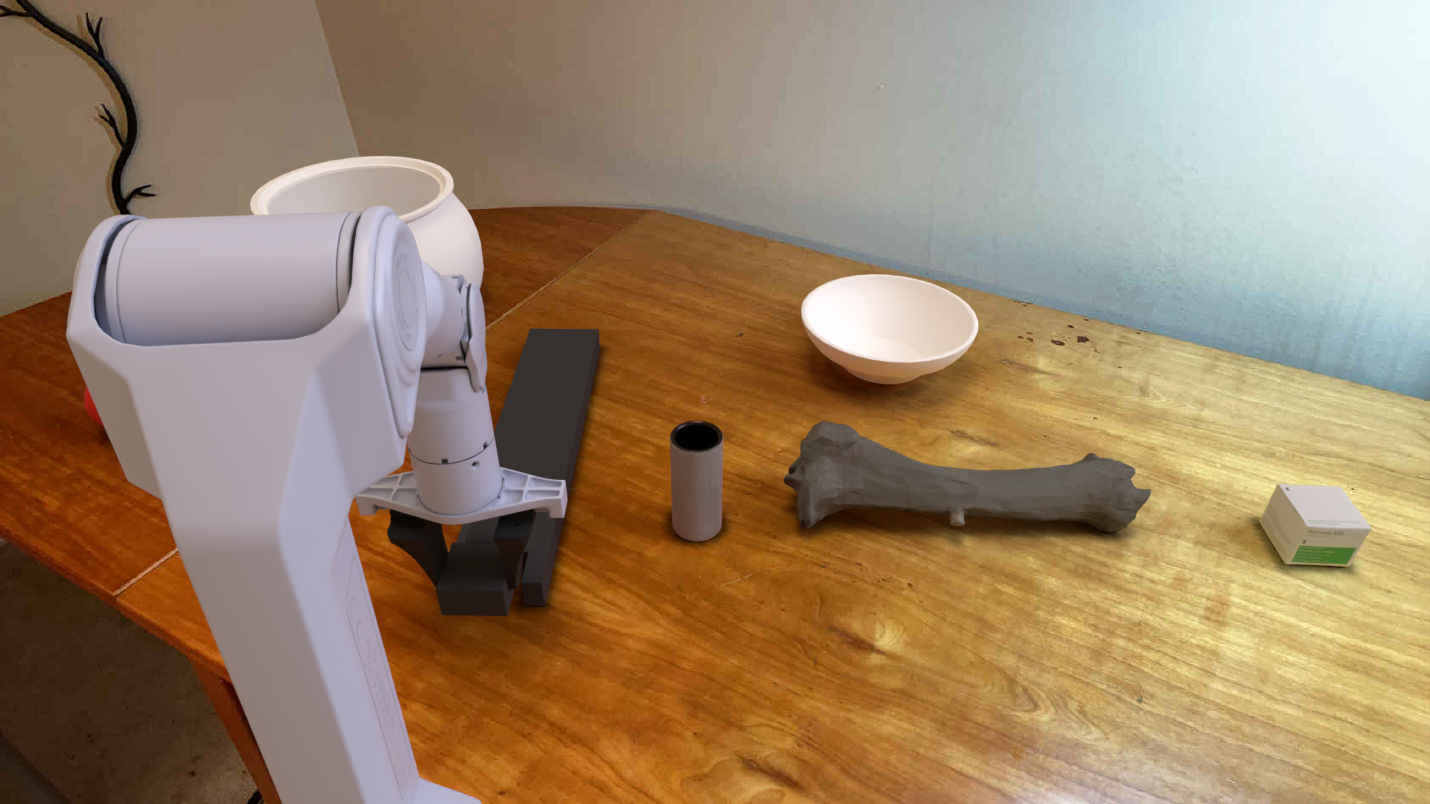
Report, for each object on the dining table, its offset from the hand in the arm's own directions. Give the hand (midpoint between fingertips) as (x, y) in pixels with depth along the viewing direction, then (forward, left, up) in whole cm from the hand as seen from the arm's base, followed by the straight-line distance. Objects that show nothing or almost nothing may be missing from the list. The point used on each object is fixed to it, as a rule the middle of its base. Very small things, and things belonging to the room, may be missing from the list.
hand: (479, 579), depth 69 cm
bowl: (+53, -9, -6) cm, 55 cm away
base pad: (+19, +13, -6) cm, 23 cm away
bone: (+34, -26, -6) cm, 43 cm away
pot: (+28, +48, -6) cm, 57 cm away
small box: (+48, -53, -6) cm, 72 cm away
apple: (-2, +49, -6) cm, 50 cm away
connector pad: (+1, +1, -1) cm, 2 cm away
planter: (+19, -7, -6) cm, 21 cm away
